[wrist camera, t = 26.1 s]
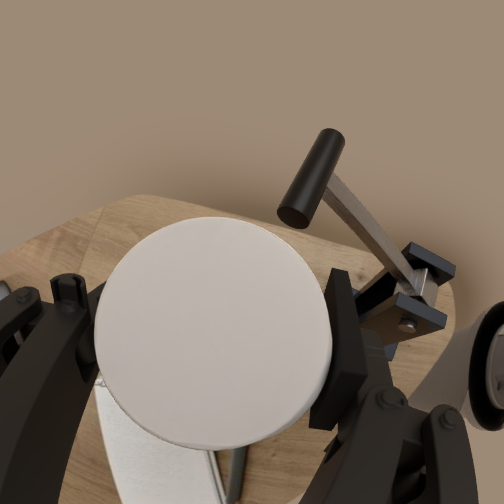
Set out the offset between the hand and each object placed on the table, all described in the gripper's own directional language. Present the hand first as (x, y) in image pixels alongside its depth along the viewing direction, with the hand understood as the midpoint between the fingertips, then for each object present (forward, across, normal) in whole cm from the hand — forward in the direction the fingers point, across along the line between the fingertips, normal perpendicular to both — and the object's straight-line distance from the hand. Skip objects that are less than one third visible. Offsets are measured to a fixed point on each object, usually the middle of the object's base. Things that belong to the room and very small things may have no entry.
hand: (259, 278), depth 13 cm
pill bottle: (0, 0, -5) cm, 5 cm away
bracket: (+15, +11, -10) cm, 21 cm away
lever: (+5, +6, +1) cm, 8 cm away
